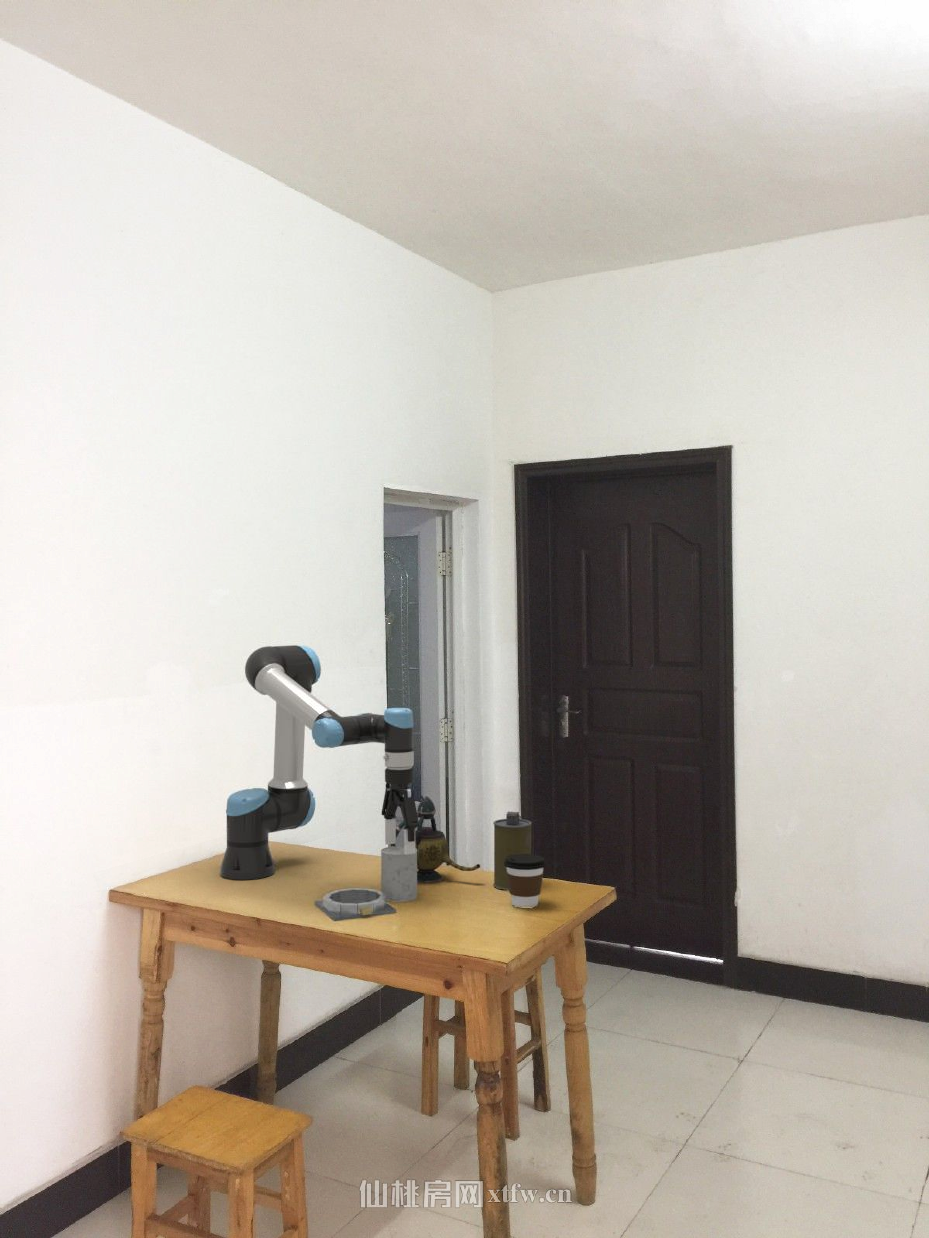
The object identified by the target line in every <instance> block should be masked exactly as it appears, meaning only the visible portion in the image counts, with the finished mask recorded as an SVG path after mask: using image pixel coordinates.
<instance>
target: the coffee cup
mask: <svg viewBox="0 0 929 1238" xmlns="http://www.w3.org/2000/svg"><path fill="white" fill-rule="evenodd" d="M504 866H506V868H507V879H508V885H509V891H508V892H509V894H510V899H511V904H512V906H513V905H514V906H516V907H535V906H536V907H537V906H538V904H539V901H540V900H539V899H540V895H541V892H542V891H541V889H542V884H543V877H544V868H546V867H547V861H545V857H543V856H542V855H539V854H532V853H531V854H515V855H510V856H508V857H506V859H505V861H504ZM514 906H513V907H514ZM516 907H515V908H516ZM536 907H535V908H536Z"/></svg>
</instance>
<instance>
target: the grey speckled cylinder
mask: <svg viewBox="0 0 929 1238" xmlns="http://www.w3.org/2000/svg"><path fill="white" fill-rule="evenodd" d="M380 856H381V857H380V859H381V860H380V861H381V862H380V863H381V866H380V867H381V869H380V871H381V872H380V873H381V875H380V877H381V878H380V880H381V881H380V884H381V885H380V888H381V889H380V891H382V892H383V893H385V894H386V895H387V902H392V903H393V902H394V903H405V902H410V901H414V900H416V899H417V898H418V883H417V871H418V869H417V849H416V848H415V854H407V855H405V853H404V845H395V846H392V847H391V846H387V847H384V848H381V850H380Z"/></svg>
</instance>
